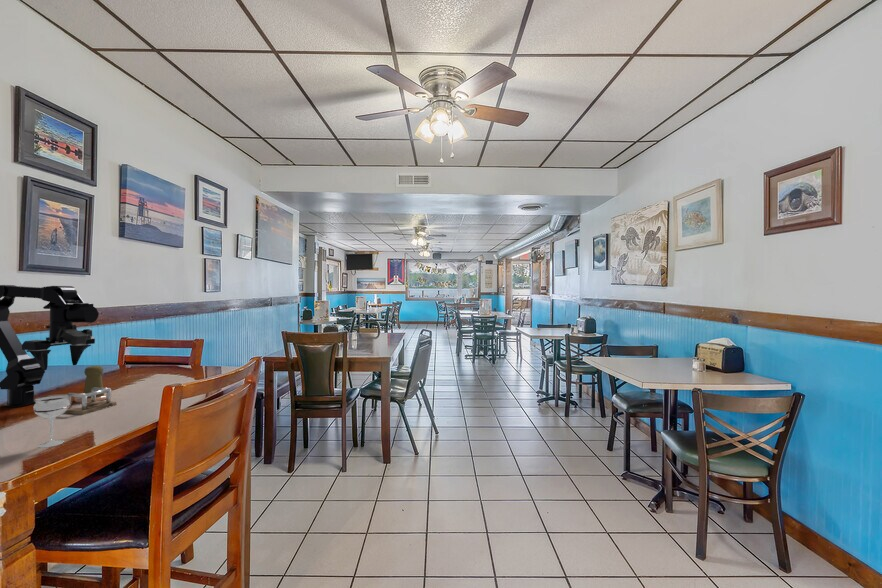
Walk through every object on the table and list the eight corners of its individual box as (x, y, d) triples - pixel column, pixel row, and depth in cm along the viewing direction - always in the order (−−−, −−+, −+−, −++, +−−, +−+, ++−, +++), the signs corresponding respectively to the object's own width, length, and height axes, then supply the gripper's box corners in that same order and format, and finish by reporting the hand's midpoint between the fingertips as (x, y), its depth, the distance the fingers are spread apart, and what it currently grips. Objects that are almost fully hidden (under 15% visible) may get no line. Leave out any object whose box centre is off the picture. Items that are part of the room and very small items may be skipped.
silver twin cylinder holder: (64, 408, 126) (65, 393, 126) (93, 401, 135) (94, 386, 135) (83, 410, 125) (84, 394, 125) (111, 402, 134) (112, 387, 134)
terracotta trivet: (66, 401, 137) (67, 399, 137) (95, 394, 147) (95, 392, 147) (91, 403, 136) (91, 400, 136) (118, 396, 146) (118, 393, 146)
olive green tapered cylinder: (108, 394, 144) (109, 365, 144) (92, 398, 138) (93, 367, 138) (93, 393, 145) (94, 364, 145) (77, 398, 139) (78, 367, 139)
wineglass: (70, 443, 101) (71, 397, 101) (32, 451, 96) (33, 402, 96) (67, 436, 106) (68, 393, 106) (31, 443, 100) (32, 397, 100)
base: (59, 412, 126) (59, 409, 126) (94, 403, 136) (94, 400, 136) (83, 414, 124) (83, 411, 124) (116, 404, 135) (116, 402, 135)
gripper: (50, 325, 123) (49, 374, 123) (108, 321, 141) (107, 364, 141) (20, 323, 124) (19, 372, 124) (82, 320, 143) (81, 362, 143)
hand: (60, 367), depth 133 cm, fingers open, 9 cm apart
